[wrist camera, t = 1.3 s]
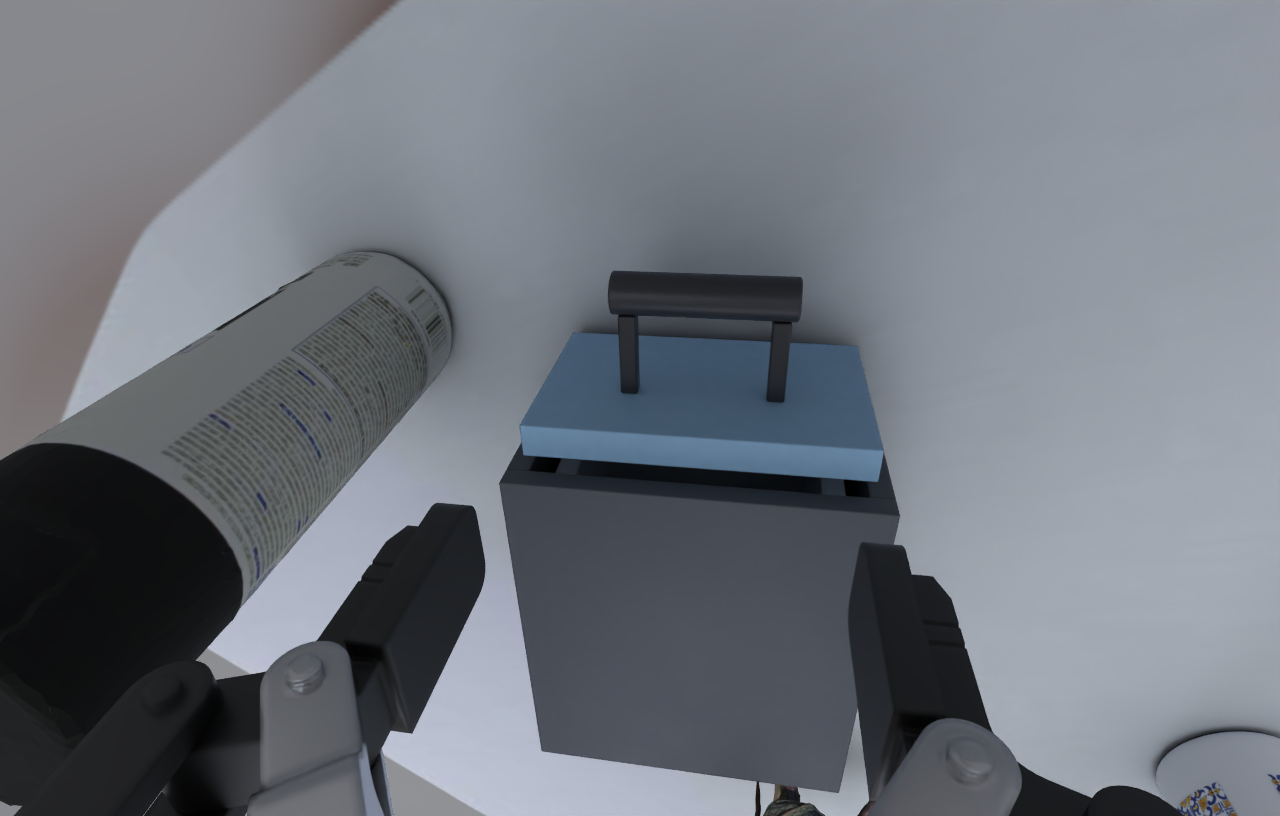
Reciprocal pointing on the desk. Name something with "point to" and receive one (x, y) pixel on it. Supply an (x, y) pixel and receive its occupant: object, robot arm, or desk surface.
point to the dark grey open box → (691, 619)
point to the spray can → (192, 492)
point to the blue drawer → (707, 394)
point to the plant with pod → (793, 804)
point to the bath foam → (1223, 775)
